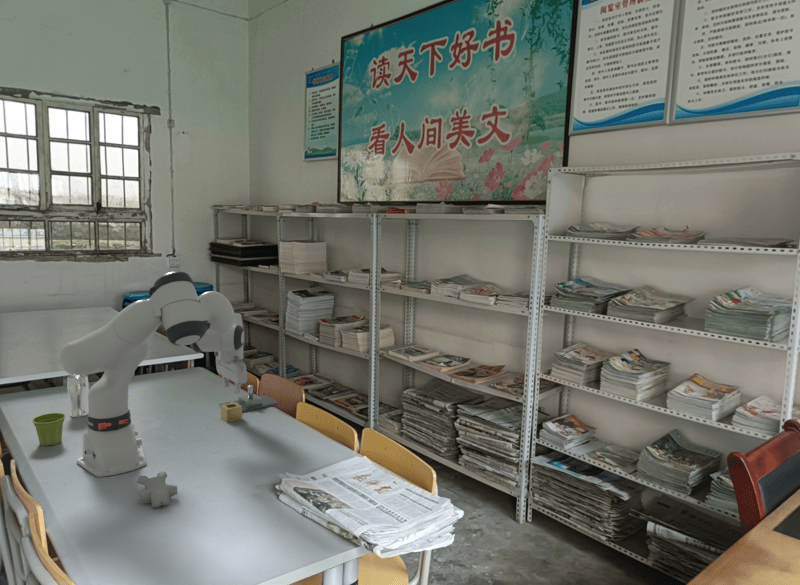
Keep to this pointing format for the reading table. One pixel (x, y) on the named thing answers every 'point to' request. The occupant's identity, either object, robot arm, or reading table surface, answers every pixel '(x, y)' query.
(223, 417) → the tan square sleeve
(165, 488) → the grey chunky knobbed piece
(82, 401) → the beer glass
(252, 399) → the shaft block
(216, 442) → the reading table surface
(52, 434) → the plant pot
